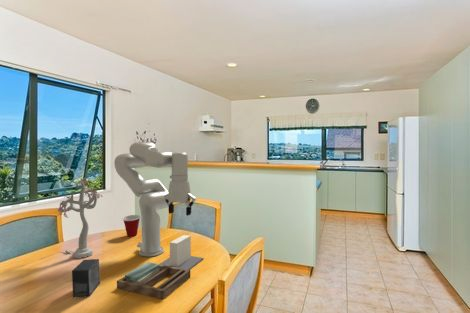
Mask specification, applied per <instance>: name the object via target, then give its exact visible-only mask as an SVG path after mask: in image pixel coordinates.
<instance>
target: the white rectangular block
mask: <svg viewBox="0 0 470 313" xmlns="http://www.w3.org/2000/svg"><path fill="white" fill-rule="evenodd" d="M191 242H192V241H191V235H189V234H188V235H187V234H183V235H181V236H179V237H177V238H175V239H174V240H172V241H170V242H169V258H170V266H174V267H178V266H180V265H181V264H183V263H184V262H185V261H187V260H188V259H190V258H191V256H192V253H191V252H192V251H191V249H192V246H191V245H192V243H191Z"/></svg>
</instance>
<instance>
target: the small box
mask: <svg viewBox="0 0 470 313" xmlns="http://www.w3.org/2000/svg"><path fill="white" fill-rule="evenodd" d="M100 278H101V277H100V259H99V258H95V259H94V258H93V259H83V260H81V262H80V263H79V264H77V266H76V267H74V268H73V269H72V270H71V279H72V282H71V283H72V298H88V297H87V296H90V297H91V295H92V294H93V293H94V292H95V290H96V289H97V288H98V286H100V285H101V279H100ZM85 296H86V297H85Z"/></svg>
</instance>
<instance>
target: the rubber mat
mask: <svg viewBox="0 0 470 313" xmlns="http://www.w3.org/2000/svg"><path fill="white" fill-rule="evenodd" d="M203 260H204V257H202V256H196V255H195V256H194V255H191V258H190V259H188V260H187V261H185V262H184V263H183V264H181V265H180V266H178V267H176V268H181V269H187V270H190V271H191V269H193V268H194V267H195V266H197V265H198V264H199V263H200V262H202V261H203ZM158 264H159V265H165V266H170V257H168V258H167V259H165V260H163V261H161V262H160V263H158ZM170 267H174V266H170Z"/></svg>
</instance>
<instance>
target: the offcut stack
mask: <svg viewBox="0 0 470 313" xmlns="http://www.w3.org/2000/svg"><path fill="white" fill-rule="evenodd" d="M159 264H160V263H154V262H149V261H147V262H146V263H144V264H142V265H141V266H139V267H137V268H135V269H133V270H132V271H129V272H128V273H126V274H124V277H125V279H127V281H128V282H132V283H137V284H142V283H144V282H145V281H147V280H148V279H150V278H151V277H153V276H154V275H156V274H157V273H159V272H160V267H159Z"/></svg>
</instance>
